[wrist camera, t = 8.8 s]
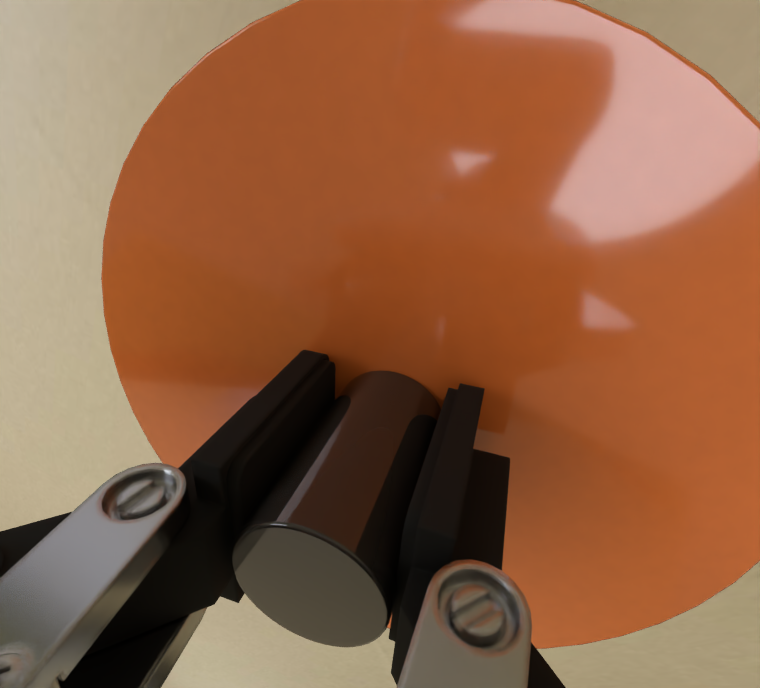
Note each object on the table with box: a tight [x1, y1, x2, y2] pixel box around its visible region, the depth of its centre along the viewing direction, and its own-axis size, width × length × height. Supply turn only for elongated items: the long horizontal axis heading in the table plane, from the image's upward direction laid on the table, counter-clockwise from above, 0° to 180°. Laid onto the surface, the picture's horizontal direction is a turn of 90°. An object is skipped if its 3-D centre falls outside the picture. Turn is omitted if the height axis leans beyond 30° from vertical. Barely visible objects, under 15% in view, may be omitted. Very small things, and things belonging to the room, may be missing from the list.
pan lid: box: [101, 0, 760, 649], centre depth 9 cm, size 16×16×6 cm
